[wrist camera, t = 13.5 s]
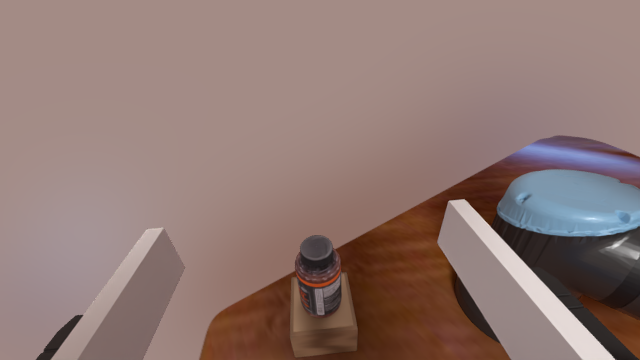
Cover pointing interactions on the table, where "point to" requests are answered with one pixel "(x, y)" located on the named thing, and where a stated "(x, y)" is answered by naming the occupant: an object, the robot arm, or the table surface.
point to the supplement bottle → (319, 276)
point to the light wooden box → (323, 325)
